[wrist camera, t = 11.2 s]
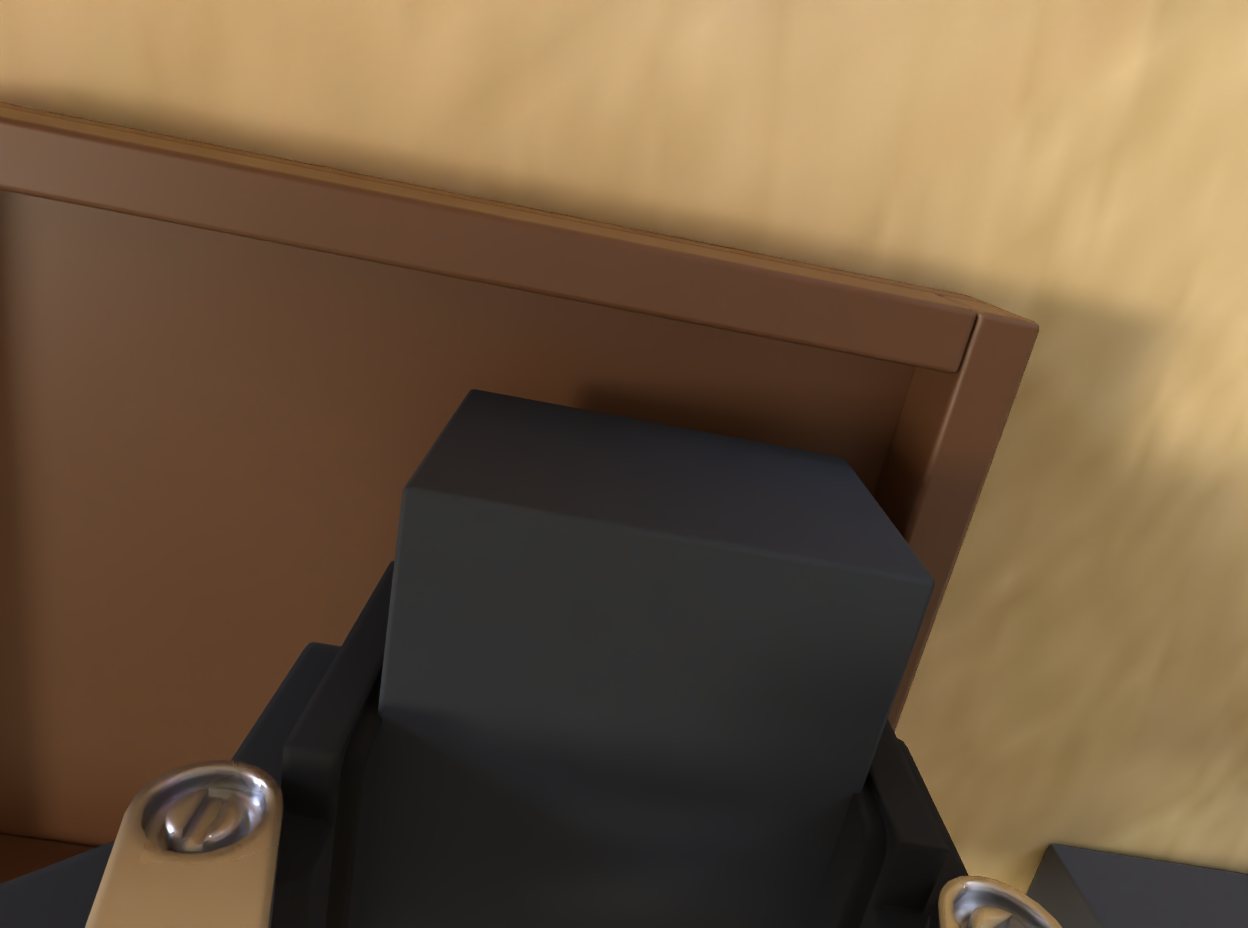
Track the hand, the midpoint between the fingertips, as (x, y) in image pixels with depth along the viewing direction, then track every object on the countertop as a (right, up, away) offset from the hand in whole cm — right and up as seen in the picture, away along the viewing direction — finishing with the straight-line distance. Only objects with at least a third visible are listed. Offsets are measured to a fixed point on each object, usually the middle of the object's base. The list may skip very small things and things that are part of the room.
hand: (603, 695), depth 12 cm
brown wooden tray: (-4, +1, +2) cm, 4 cm away
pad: (0, 0, 0) cm, 0 cm away
